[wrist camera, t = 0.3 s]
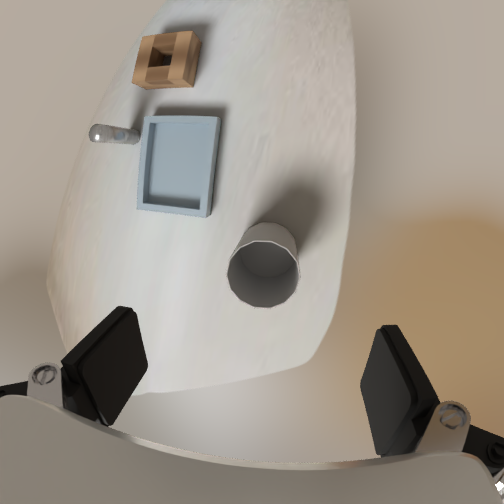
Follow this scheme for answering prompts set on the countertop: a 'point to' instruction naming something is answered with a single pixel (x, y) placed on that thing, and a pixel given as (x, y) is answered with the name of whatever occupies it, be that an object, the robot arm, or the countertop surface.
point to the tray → (178, 164)
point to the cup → (264, 266)
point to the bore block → (182, 63)
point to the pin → (113, 134)
